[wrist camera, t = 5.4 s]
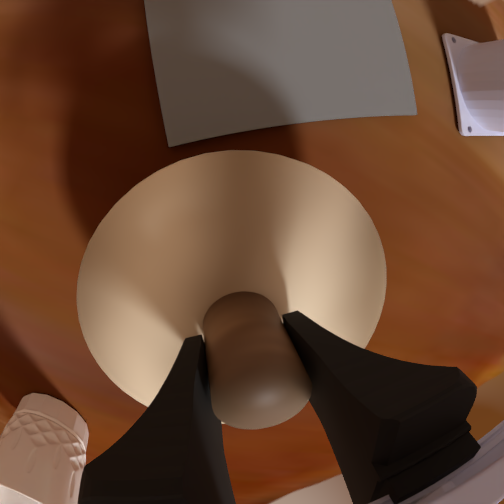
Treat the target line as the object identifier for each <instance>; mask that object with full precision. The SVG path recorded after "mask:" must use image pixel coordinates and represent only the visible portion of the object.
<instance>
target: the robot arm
mask: <svg viewBox="0 0 504 504" xmlns="http://www.w3.org/2000/svg"><path fill="white" fill-rule="evenodd" d="M442 39H443V43H444V47H445V51H446V56H447V60H448V65H449V69H450V74H451V79H452V85H453V91H454V97H455V103H456V111H457V118H458V127H459V132H460V134H461V135H463V136H504V39H503V40H496V41H490V42H484V43H479V42H476V41H473V40H470V39H466V38H463V37H460V36H456V35H453V34H449V33H445V34H443V35H442ZM282 318H283V324H284V326H285V328H286V330H287V332H288V334H289V336H290V338H291V340H292V342H293V345H294V347H295V349H296V351H297V353H298V355H299V357H300V359H301V361H302V363H303V365H304V367H305V369H306V371H307V373H308V375H309V378H310V380H311V382H312V393H311V396H310V399H309V401H310V403H311V405H312V406H313V408H314V410H315V412H316V414H317V415H318V417H319V419H320V421H321V423H322V425H323V427H324V429H325V432H326V434H327V437H328V439H329V441H330V444H331V446H332V449H333V451H334V454H335V456H336V459H337V461H338V464H339V467H340V469H341V472H342V474H343V477H344V480H345V482H346V485H347V488H348V490H349V493H350V496H351V499H352V502H353V504H498V503H499V502H500V501H501V500H502V499H503V498H504V420H503V421H502V422H501V423H500V424H498V425H497V426H496V427H495V428H494V429H492V430H491V431H490V432H488V433H487V434H486V435H485V436H483V437H482V438H481V439H480V440H478V441H476V440H475V439H474V438H473V436H472V435H471V434H470V433H469V431H470V430H471V426H470V424H469V423H468V422H467V421H466V418H467V416H468V414H469V412H470V410H471V408H472V406H473V403H474V401H475V398H476V394H477V387H476V385H475V384H474V383H473V382H472V381H471V380H470V379H469V378H468V377H467V376H466V375H465V374H464V373H463V372H462V371H461V370H460V369H459V368H457V367H446V366H430V365H423V364H417V363H411V362H406V361H401V360H397V359H393V358H390V357H386V356H383V355H380V354H377V353H374V352H371V351H369V350H366V349H363V348H361V347H359V346H356V345H354V344H352V343H350V342H348V341H346V340H344V339H342V338H340V337H338V336H337V335H335V334H333V333H332V332H330V331H328V330H326V329H325V328H323V327H322V326H320V325H319V324H317V323H316V322H314V321H313V320H311V319H310V318H308V317H307V316H305V315H304V314H302V313H301V312H299V311H298V310H297V311H294V312H290V313H286V314H283V315H282ZM77 504H236V503H235V499H234V495H233V491H232V487H231V482H230V478H229V474H228V469H227V464H226V460H225V455H224V448H223V438H222V425H221V420H219V419H218V418H217V417H216V415H215V414H214V412H213V409H212V403H211V396H210V388H209V380H208V371H207V362H206V353H205V344H204V340H203V337H202V335H197V336H192V337H188V338H185V340H184V341H183V344H182V346H181V349H180V351H179V353H178V355H177V358H176V360H175V362H174V364H173V366H172V368H171V370H170V372H169V374H168V376H167V378H166V380H165V381H164V383H163V385H162V387H161V388H160V390H159V392H158V393H157V395H156V396H155V398H154V400H153V401H152V402H151V404H150V405H149V407H148V408H147V409H146V411H145V412H144V413H143V415H142V416H141V417H140V418H139V419H138V420H137V421H136V422H135V424H134V425H133V426H132V427H131V428H130V429H129V430H128V431H127V432H126V433H125V434H124V435H123V436H122V437H121V438H120V439H119V440H118V441H117V442H116V443H115V444H113V445H112V446H111V447H110V448H109V449H107V450H106V451H105V452H104V453H102V454H101V455H100V456H98V457H97V458H96V459H94V460H93V461H91V462H90V463H89V464H87V465H86V466H84V469H83V472H82V476H81V482H80V488H79V495H78V503H77Z"/></svg>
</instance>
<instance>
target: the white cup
mask: <svg viewBox="0 0 504 504" xmlns="http://www.w3.org/2000/svg"><path fill="white" fill-rule="evenodd" d="M88 437H89V432H88V428H87V424H86V422H85V421H84V420H83V418H82V417H81V416H80V415H79V413H78V412H77V411H75V410H74V409H73V408H71V407H70V406H68V405H67V404H66V403H64V402H63V401H60V400H58V399H56V398H54V397H51V396H49V395H46V394H39V393H31V394H28V395H26V396H23V398H22V399H21V401H20V403H19V405H18V407H17V409H16V411H15V413H14V415H13V416H12V418H11V419H10V420H9V421H8V423H7V425H6V427H5V428H4V430H3V432H2V434H1V436H0V504H77V503H78V495H79V488H80V482H81V476H82V472H83V469H84V466H85V464H86V448H87V442H88Z"/></svg>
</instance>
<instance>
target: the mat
mask: <svg viewBox="0 0 504 504" xmlns="http://www.w3.org/2000/svg"><path fill="white" fill-rule="evenodd" d="M144 4H145V12H146V20H147V27H148V34H149V41H150V47H151V54H152V60H153V66H154V72H155V78H156V83H157V89H158V95H159V100H160V105H161V111H162V116H163V121H164V126H165V131H166V136H167V141H168V146H169V147H173V146H177V145H181V144H185V143H190V142H194V141H198V140H203V139H208V138H212V137H217V136H222V135H227V134H233V133H238V132H244V131H249V130H255V129H261V128H268V127H274V126H281V125H288V124H296V123H304V122H312V121H322V120H332V119H343V118H356V117H372V116H395V115H417V109H416V102H415V96H414V90H413V85H412V79H411V74H410V69H409V65H408V60H407V56H406V51H405V47H404V43H403V39H402V35H401V32H400V28H399V24H398V21H397V17H396V14H395V11H394V8H393V4H392V1H391V0H144Z"/></svg>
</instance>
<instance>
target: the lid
mask: <svg viewBox="0 0 504 504" xmlns="http://www.w3.org/2000/svg"><path fill="white" fill-rule="evenodd" d="M385 292H386V263H385V256H384V250H383V247H382V244H381V241H380V237H379V234H378V232H377V230H376V228H375V226H374V224H373V222H372V220H371V218H370V216H369V215H368V213H367V212H366V211H365V209H364V208H363V206H362V205H361V204H360V202H359V201H358V200H357V199H356V198H355V197H354V196H353V195H352V194H351V193H350V192H349V191H348V190H347V189H346V188H345V187H344V186H343V185H341V184H340V183H339V182H337V181H336V180H335V179H333V178H332V177H330V176H329V175H328V174H326V173H324V172H322V171H320V170H318V169H316V168H314V167H312V166H310V165H308V164H306V163H303V162H300V161H297V160H294V159H291V158H288V157H285V156H282V155H278V154H273V153H267V152H261V151H255V150H226V151H218V152H210V153H204V154H200V155H197V156H193V157H190V158H186V159H183V160H180V161H178V162H175V163H173V164H171V165H169V166H167V167H164V168H162V169H160V170H158V171H156V172H155V173H153V174H152V175H150V176H149V177H147V178H145V179H144V180H142V181H141V182H139V183H138V184H137V185H136V186H134V187H133V188H132V189H131V190H130V191H129V192H128V193H126V194H125V195H124V196H123V197H122V198H121V199H120V200H119V201H118V202H117V203H116V204H115V205H114V206H113V207H112V209H111V210H110V211H109V212H108V214H107V215H106V216H105V217H104V219H103V220H102V221H101V222H100V224H99V225H98V227H97V229H96V231H95V232H94V234H93V236H92V238H91V239H90V241H89V243H88V246H87V248H86V251H85V254H84V256H83V259H82V262H81V266H80V271H79V276H78V282H77V308H78V316H79V322H80V325H81V329H82V332H83V335H84V338H85V341H86V343H87V345H88V347H89V349H90V351H91V353H92V355H93V357H94V358H95V360H96V361H97V363H98V364H99V366H100V367H101V369H102V370H103V371H104V372H105V373H106V374H107V376H108V377H109V378H110V379H111V380H112V381H113V382H114V383H115V384H116V385H117V386H118V387H119V388H121V389H122V390H123V391H124V392H125V393H127V394H128V395H130V396H131V397H132V398H134V399H135V400H137V401H138V402H140V403H142V404H144V405H146V406H148V407H149V405H150V404H151V402H152V401H153V400H154V398H155V396H156V395H157V393H158V392H159V390H160V388H161V387H162V385H163V383H164V381H165V380H166V378H167V376H168V374H169V372H170V370H171V368H172V366H173V364H174V362H175V360H176V358H177V355H178V353H179V351H180V349H181V346H182V344H183V341H184V340H185V338H188V337H192V336H197V335H202V337H203V340H204V344H205V353H206V362H207V371H208V380H209V388H210V396H211V403H212V409H213V412H214V414H215V415H216V417H217V418H218V419H219V420H221V424H227V425H229V426H232V427H235V428H240V429H261V428H266V427H271V426H274V425H277V424H280V423H282V422H284V421H286V420H288V419H290V418H291V417H293V416H294V415H296V414H297V413H298V412H299V411H300V410H301V409H302V408H303V407H304V406H305V405H306V404H307V402H308V401H309V399H310V396H311V393H312V382H311V380H310V378H309V375H308V373H307V371H306V369H305V367H304V365H303V363H302V361H301V359H300V357H299V355H298V353H297V351H296V349H295V347H294V345H293V342H292V340H291V338H290V336H289V334H288V332H287V330H286V328H285V326H284V324H283V318H282V315H283V314H286V313H290V312H294V311H297V310H298V311H299V312H301V313H302V314H304V315H305V316H307V317H308V318H310V319H311V320H313V321H314V322H316V323H317V324H319V325H320V326H322V327H323V328H325V329H326V330H328V331H330V332H332V333H333V334H335V335H337V336H338V337H340V338H342V339H344V340H346V341H348V342H350V343H352V344H354V345H356V346H359V347H361V348H363V349H364V348H365V347H366V345H367V344H368V342H369V340H370V338H371V336H372V334H373V333H374V331H375V328H376V326H377V323H378V321H379V318H380V315H381V311H382V308H383V304H384V299H385Z"/></svg>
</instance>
